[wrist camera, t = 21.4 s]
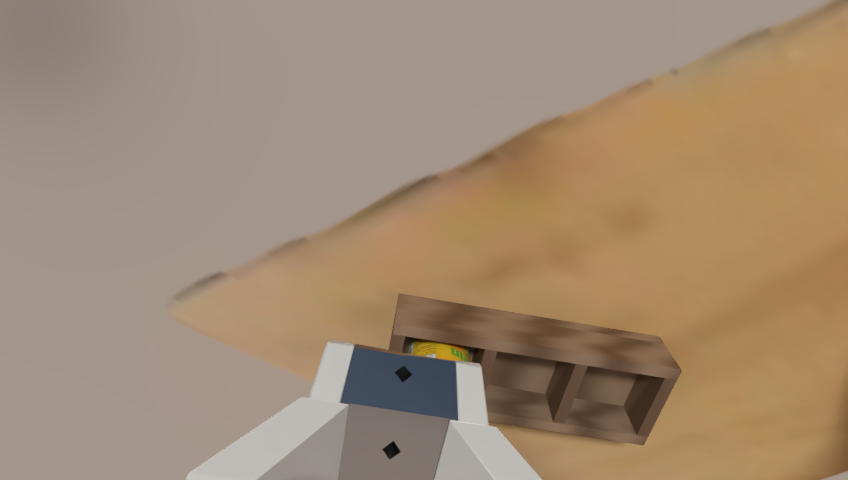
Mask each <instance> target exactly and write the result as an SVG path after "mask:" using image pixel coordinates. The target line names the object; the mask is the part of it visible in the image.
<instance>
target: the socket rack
mask: <svg viewBox="0 0 848 480" xmlns="http://www.w3.org/2000/svg"><path fill="white" fill-rule="evenodd" d="M413 338H419V339H425V340H432V341H438V342H444V343H450V344H456V345H463V346H468V347H469V354H470V362H472V363H479V364H480V365H481V367H482V373H483V381H484V389H485V397H486V405H487V413H488V421H490V422H496V423H503V424H509V425H515V426H522V427H528V428H535V429H541V430H548V431H554V432H561V433H567V434H574V435H580V436H587V437H593V438H600V439H606V440H613V441H619V442H626V443H632V444H639V445H644V444H645V442H646V440H647V438H648V436H649V434H650V432H651V430H652V428H653V426H654V424H655V422H656V420H657V418H658V416H659V414H660V412H661V410H662V408H663V406H664V404H665V402H666V400H667V398H668V396H669V394H670V393H671V391H672V389H673V387H674V385H675V383H676V381H677V379H678V377H679V375H680V373H681V371H682V370H681V369H680V367H679V366H678V364H677V363H676V361H675V360H674V358H673V357H672V355H671V354H670V352H669V351H668V349H667V348H666V346H665V344H664V343H663V341H662V340H661V338H660V337H657V336H651V335H645V334H639V333H633V332H627V331H621V330H615V329H609V328H603V327H597V326H591V325H585V324H579V323H573V322H567V321H561V320H554V319H548V318H542V317H536V316H530V315H524V314H518V313H512V312H506V311H500V310H494V309H488V308H482V307H476V306H470V305H464V304H458V303H452V302H446V301H440V300H433V299H427V298H421V297H415V296H409V295H403V294H399V297H398V302H397V308H396V313H395V319H394V324H393V330H392V335H391V341H390V347H389V350H392V351H397V352H403V353H407V354H408V351H409V346H410V343H411V341H412V339H413Z"/></svg>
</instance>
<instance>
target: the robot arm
mask: <svg viewBox="0 0 848 480" xmlns="http://www.w3.org/2000/svg"><path fill="white" fill-rule="evenodd" d="M186 480H542V479H541V478H540V477H539V475H538V474H537V473H536V472H535V471H534V470H533V469H532V467H531V466H530V465H529V464H528V463H527V462H526V460H525V459H524V458H523V457H522V456H521V455H520V454H519V452H518V451H517V450H516V449H515V448H514V447H513V445H512V444H511V443H510V442H509V441H508V440H507V439H506V437H505V436H504V435H503V434H502V433H501V432H500V430H499V429H498V428H497V427H492V426H489V421H488V413H487V405H486V397H485V389H484V381H483V373H482V367H481V365H480V364H479V363H472V362H465V361H458V360H455V361H452V360H445V359H439V358H433V357H426V356H420V355H413V354H407V353H403V352H397V351H392V350H386V349H381V348H375V347H370V346H364V345H359V344H355V345H354V344H352V343H346V342H341V341H335V340H329V341H328V343H327V344H326V347H325V350H324V353H323V356H322V359H321V362H320V365H319V368H318V371H317V374H316V377H315V380H314V383H313V386H312V389H311V392H310V395H309V398H304V397H300V398H298V399H297V400H296V401H294V402H293V403H291V404H290V405H288V406H287V407H285V408H284V409H282V410H281V411H279V412H278V413H276V414H275V415H273V416H272V417H271V418H269V419H268V420H266V421H265V422H263V423H262V424H260V425H259V426H257V427H256V428H254V429H253V430H252V431H250V432H249V433H247V434H246V435H244V436H243V437H241V438H240V439H238V440H237V441H235V442H234V443H232V444H231V445H229V446H228V447H226V448H225V449H224V450H222V451H221V452H219V453H218V454H216V455H215V456H213V457H212V458H210V459H209V460H207V461H206V462H204V463H203V464H201V465H200V466H198V467H197V468H196V469H194V470H193V471H191V472H190V473H189V474H188V476H187V478H186Z"/></svg>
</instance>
